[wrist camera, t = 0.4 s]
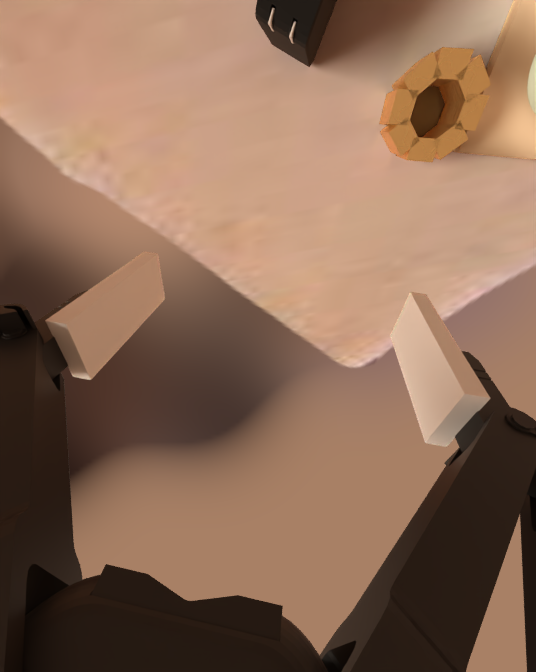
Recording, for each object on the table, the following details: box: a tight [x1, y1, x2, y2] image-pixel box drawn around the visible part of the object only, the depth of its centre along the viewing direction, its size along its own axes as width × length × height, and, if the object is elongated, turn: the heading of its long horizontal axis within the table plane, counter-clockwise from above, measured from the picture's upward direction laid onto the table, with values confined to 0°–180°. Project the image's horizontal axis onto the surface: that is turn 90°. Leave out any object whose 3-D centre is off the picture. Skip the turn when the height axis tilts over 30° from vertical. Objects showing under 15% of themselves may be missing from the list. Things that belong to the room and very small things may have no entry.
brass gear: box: [379, 47, 491, 162], centre depth 26 cm, size 8×8×5 cm
